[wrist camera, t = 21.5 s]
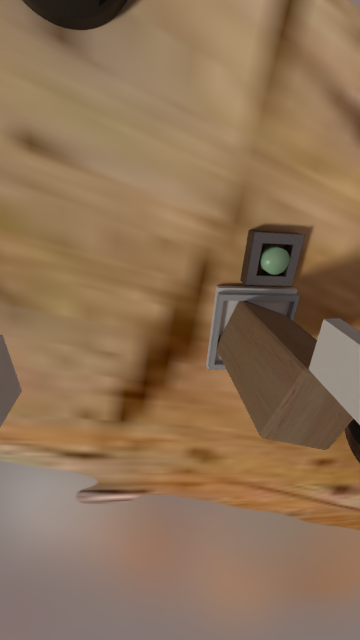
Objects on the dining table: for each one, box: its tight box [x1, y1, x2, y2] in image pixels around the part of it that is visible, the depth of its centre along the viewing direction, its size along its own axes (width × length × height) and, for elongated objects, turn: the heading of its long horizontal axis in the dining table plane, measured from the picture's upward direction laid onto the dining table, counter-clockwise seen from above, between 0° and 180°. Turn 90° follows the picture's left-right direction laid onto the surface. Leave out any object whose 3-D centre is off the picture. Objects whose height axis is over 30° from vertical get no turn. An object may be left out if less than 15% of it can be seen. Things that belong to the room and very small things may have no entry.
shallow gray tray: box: [206, 286, 300, 369], centre depth 46 cm, size 16×14×2 cm
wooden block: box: [217, 301, 354, 450], centre depth 37 cm, size 10×10×20 cm
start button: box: [259, 246, 290, 275], centre depth 40 cm, size 4×4×2 cm
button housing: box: [240, 230, 305, 286], centre depth 41 cm, size 8×8×2 cm
